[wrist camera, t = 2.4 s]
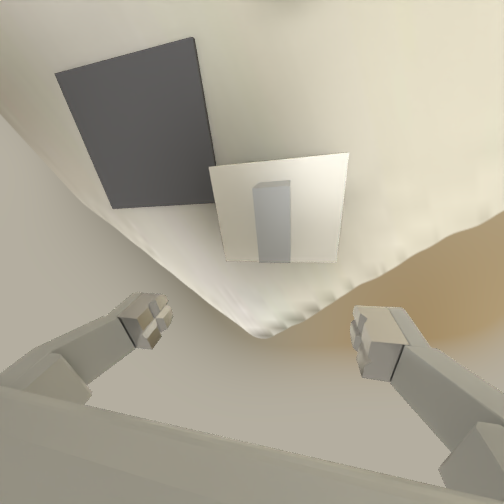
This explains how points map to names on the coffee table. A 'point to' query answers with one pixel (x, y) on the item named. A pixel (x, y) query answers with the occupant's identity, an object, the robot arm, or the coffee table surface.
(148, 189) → the black rubber mat
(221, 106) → the coffee table surface
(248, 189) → the cream lid
